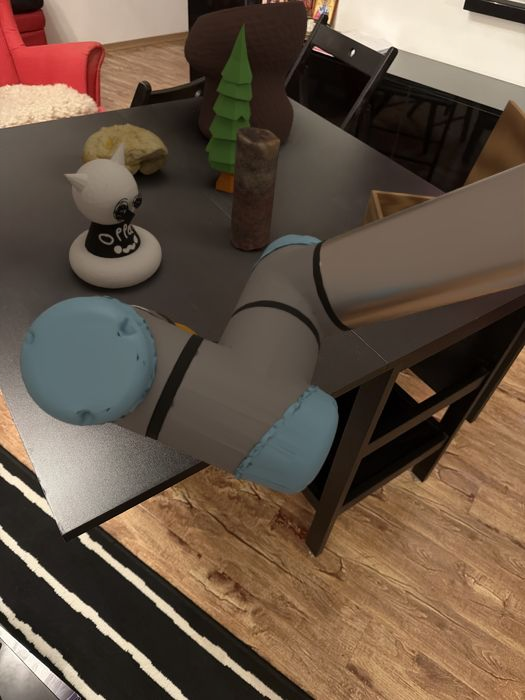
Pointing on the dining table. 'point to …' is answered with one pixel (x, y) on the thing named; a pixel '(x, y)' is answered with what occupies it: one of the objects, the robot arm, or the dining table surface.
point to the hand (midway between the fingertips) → (171, 345)
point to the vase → (250, 59)
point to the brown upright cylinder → (253, 187)
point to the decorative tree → (230, 113)
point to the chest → (389, 204)
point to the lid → (502, 145)
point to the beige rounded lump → (127, 147)
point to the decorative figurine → (111, 226)
